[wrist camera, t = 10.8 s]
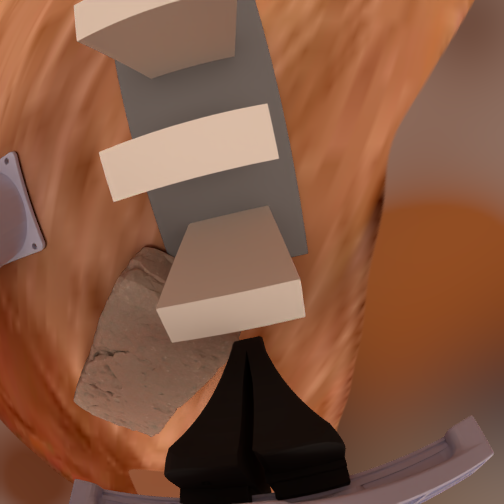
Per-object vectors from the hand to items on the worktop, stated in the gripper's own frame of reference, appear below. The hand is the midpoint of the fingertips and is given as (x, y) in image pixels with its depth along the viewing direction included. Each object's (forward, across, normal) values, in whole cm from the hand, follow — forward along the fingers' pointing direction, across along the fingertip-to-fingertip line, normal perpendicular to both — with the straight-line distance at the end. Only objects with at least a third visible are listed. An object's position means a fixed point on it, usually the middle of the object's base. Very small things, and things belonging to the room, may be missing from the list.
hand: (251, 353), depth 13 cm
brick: (+7, +9, +4) cm, 12 cm away
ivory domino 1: (+7, 0, -15) cm, 17 cm away
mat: (+7, 0, -15) cm, 17 cm away
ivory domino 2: (+7, 0, -10) cm, 12 cm away
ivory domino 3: (+7, 0, -4) cm, 8 cm away
